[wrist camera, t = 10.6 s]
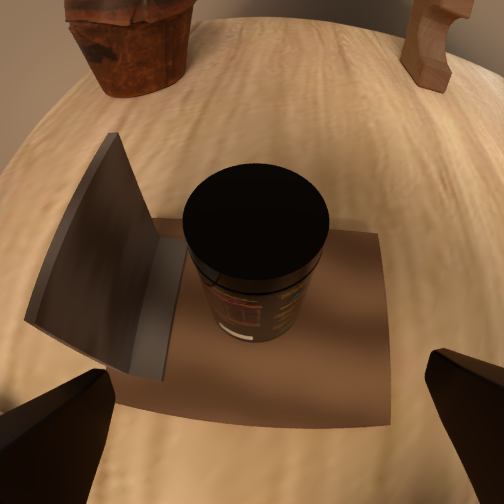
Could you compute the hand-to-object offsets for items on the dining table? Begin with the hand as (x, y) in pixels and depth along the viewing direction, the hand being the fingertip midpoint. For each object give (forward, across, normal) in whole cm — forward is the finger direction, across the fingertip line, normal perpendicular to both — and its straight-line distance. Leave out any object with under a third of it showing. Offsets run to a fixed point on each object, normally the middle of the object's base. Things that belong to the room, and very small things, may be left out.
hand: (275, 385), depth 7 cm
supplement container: (+12, 0, +3) cm, 13 cm away
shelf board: (+13, 0, +4) cm, 13 cm away
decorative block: (+41, -31, -24) cm, 57 cm away
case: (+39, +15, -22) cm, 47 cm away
